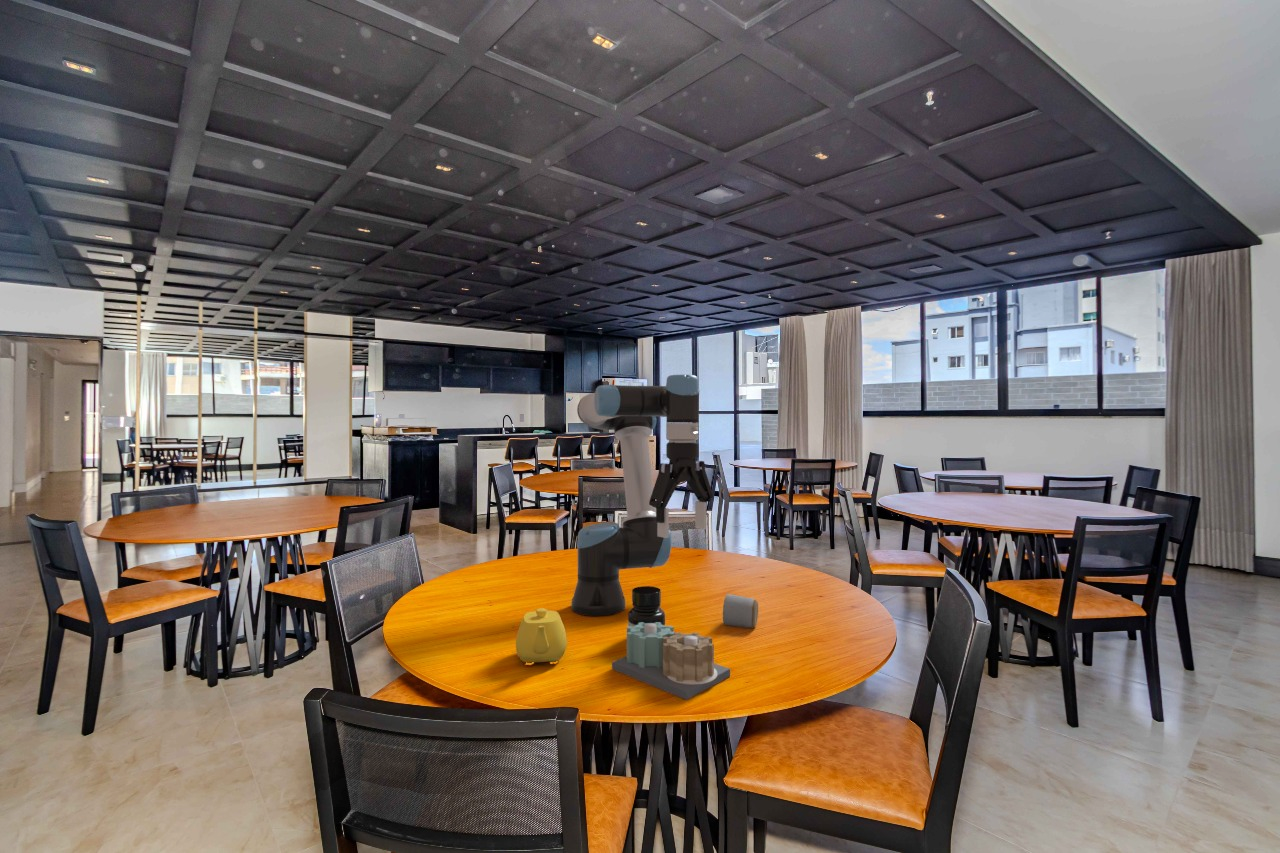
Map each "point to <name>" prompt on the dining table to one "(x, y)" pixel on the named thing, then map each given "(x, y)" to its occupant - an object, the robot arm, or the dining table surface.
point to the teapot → (541, 637)
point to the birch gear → (688, 657)
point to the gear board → (664, 681)
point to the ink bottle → (646, 606)
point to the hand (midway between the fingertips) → (682, 532)
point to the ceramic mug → (740, 611)
